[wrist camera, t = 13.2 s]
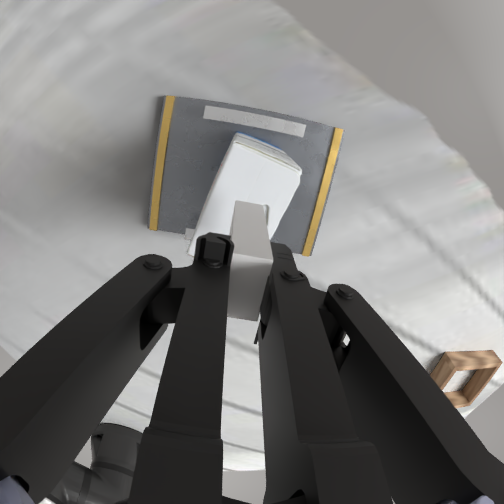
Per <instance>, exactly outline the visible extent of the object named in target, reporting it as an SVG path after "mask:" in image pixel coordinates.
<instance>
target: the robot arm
mask: <svg viewBox="0 0 504 504" xmlns="http://www.w3.org/2000/svg"><path fill="white" fill-rule="evenodd" d="M259 313H260V315H261V319H260V323H259V326H258V330H257V334H256V337H255V341H254V344H257V341H258V342H259V360H260V378H261V395H262V413H263V431H264V449H265V467H266V492H265V496H264V500H263V504H393V502H392V499H393V500H394V502H395V504H504V464H503V463H502V462H501V461H499V460H498V459H497V458H496V457H494V456H493V455H492V454H491V453H489V452H488V451H487V449H486V448H485V446H484V445H483V444H482V442H481V441H480V439H479V438H478V437H477V435H476V434H475V433H474V431H473V430H472V429H471V427H470V426H469V425H468V423H467V422H466V421H465V419H464V418H463V417H462V416H461V414H460V413H459V412H458V410H457V409H456V408H455V406H454V405H453V404H452V403H451V401H450V400H449V399H448V398H447V396H446V395H445V394H444V393H443V391H442V390H441V389H440V388H439V386H438V385H437V384H436V383H435V381H434V380H433V379H432V378H431V376H430V375H429V374H428V373H427V371H426V370H425V369H424V368H423V367H422V365H421V364H420V363H419V362H418V361H417V359H416V358H415V357H414V356H413V355H412V353H411V352H410V351H409V350H408V349H407V347H406V346H405V345H404V344H403V343H402V342H401V340H400V339H399V338H398V337H397V336H396V335H395V333H394V332H393V331H392V330H391V329H390V328H389V326H388V325H387V324H386V323H385V322H384V321H383V320H382V318H381V317H380V316H379V315H378V314H377V313H376V312H375V310H374V309H373V308H372V307H371V306H370V305H369V304H368V303H367V301H366V300H365V299H364V298H363V297H362V296H361V295H360V294H359V293H358V292H357V291H356V290H355V289H353V288H351V287H350V286H348V285H345V284H332V285H330V286H329V287H328V290H327V292H324V291H320V290H317V289H315V288H312V287H310V284H309V281H308V278H307V277H306V275H305V274H303V273H302V272H300V271H298V270H297V267H296V264H295V261H294V258H293V255H292V252H291V249H290V248H289V247H287V246H286V245H285V244H281V243H275V242H270V239H269V234H268V229H267V224H266V218H265V213H264V208H263V205H260V204H255V203H249V202H244V201H238V200H236V201H235V206H234V211H233V216H232V222H231V227H230V232H229V235H224V234H219V233H213V232H208V233H207V234H205V235H201V236H199V237H198V238H197V239H196V246H195V254H194V261H193V264H192V265H190V266H188V267H183V268H172V263H171V261H170V260H168V259H167V258H165V257H163V256H159V255H156V254H153V255H152V254H148V255H143V256H140V257H138V258H136V259H135V260H134V261H133V262H131V263H130V264H129V265H128V266H126V267H125V268H124V269H123V270H121V271H120V272H119V273H118V274H116V275H115V276H114V277H113V278H111V279H110V280H109V281H108V282H107V283H105V284H104V285H103V286H102V287H100V288H99V289H98V290H97V291H96V292H94V293H93V294H92V295H91V296H90V297H88V298H87V299H86V300H85V301H84V302H83V303H81V304H80V305H79V306H78V307H77V308H76V309H74V310H73V311H72V312H71V313H70V314H69V315H67V316H66V317H65V318H64V319H63V320H62V321H61V322H59V323H58V324H57V325H56V326H55V327H54V328H53V329H52V330H50V331H49V332H48V333H47V334H46V335H45V336H44V337H43V338H42V339H40V340H39V341H38V342H37V343H36V344H35V345H34V346H33V347H32V348H31V349H30V350H29V351H27V352H26V353H25V354H24V355H23V356H22V357H21V358H20V359H19V360H18V361H17V362H16V363H15V364H14V365H13V366H12V367H11V368H10V369H9V370H8V371H7V372H6V373H5V374H3V376H1V377H0V504H250V503H246V502H242V501H239V500H235V499H231V498H228V497H225V496H222V472H223V440H222V439H221V412H222V392H223V374H224V356H225V340H226V324H227V317H231V318H237V319H244V320H251V321H258V317H259ZM168 323H175V326H174V330H173V333H172V337H171V341H170V345H169V348H168V352H167V356H166V360H165V364H164V368H163V372H162V375H161V379H160V383H159V388H158V392H157V396H156V400H155V404H154V408H153V413H152V417H151V421H150V424H149V427H146V428H145V430H144V432H143V434H142V433H140V432H138V431H135V430H133V429H130V428H127V427H124V426H120V425H115V424H100V425H99V423H100V422H101V420H102V419H103V418H104V416H105V415H106V413H107V412H108V410H109V409H110V408H111V406H112V405H113V403H114V402H115V400H116V399H117V398H118V396H119V395H120V393H121V392H122V391H123V389H124V388H125V386H126V385H127V384H128V382H129V381H130V379H131V378H132V377H133V375H134V374H135V372H136V371H137V370H138V368H139V367H140V365H141V364H142V363H143V361H144V360H145V358H146V357H147V356H148V354H149V353H150V351H151V350H152V349H153V347H154V346H155V345H156V343H157V342H158V340H159V339H160V338H161V336H162V335H163V334H164V332H165V331H166V329H167V327H168ZM346 334H347V335H348V337H349V339H350V341H349V344H348V345H347V346H346V345H345V344H344V342H343V340H344V338H345V336H346ZM90 436H91V450H92V463H91V467H90V469H89V468H87V467H85V466H83V465H81V464H79V463H77V462H75V461H74V460H75V458H76V457H77V455H78V454H79V452H80V451H81V449H82V448H83V446H84V445H85V443H86V442H87V440H88V439H89V438H90ZM391 497H392V498H391Z"/></svg>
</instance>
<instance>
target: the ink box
mask: <svg viewBox="0 0 504 504" xmlns="http://www.w3.org/2000/svg"><path fill="white" fill-rule="evenodd" d="M301 174H302V169H301V168H300V167H299V166H298V165H297V164H296V163H295V162H294V161H293V160H292V159H291V158H290V157H289V156H288V155H287V154H286V153H285V152H284V151H283V150H281V149H280V148H279V147H276V146H274V145H272V144H270V143H267V142H265V141H262V140H260V139H257V138H255V137H252V136H250V135H247V134H244V133H242V132H239V131H237V132H236V133H235V135H234V137H233V139H232V141H231V143H230V146H229V148H228V150H227V152H226V154H225V156H224V158H223V160H222V162H221V165H220V167H219V169H218V172H217V174H216V176H215V179H214V181H213V183H212V186H211V188H210V191H209V193H208V196H207V199H206V201H205V204H204V206H203V209H202V212H201V214H200V217H199V220H198V223H197V226H196V228H195V231H194V234H193V237H192V239H191V242H190V245H189V248H188V251H187V255H188V256H190V257H193V258H194V254H195V246H196V239H197V238H198V237H199V236H201V235H205V234H207V233H208V232H213V233H219V234H224V235H229V232H230V227H231V222H232V216H233V211H234V206H235V201H236V200H238V201H244V202H249V203H255V204H260V205H263V208H264V213H265V218H266V224H267V229H268V234H269V239H271V237H272V236H273V234H274V232H275V231H276V229H277V227H278V225H279V222H280V220H281V218H282V216H283V214H284V212H285V211H286V209H287V207H288V205H289V203H290V201H291V199H292V197H293V195H294V193H295V191H296V189H297V188H298V186H299V183H300V176H301Z"/></svg>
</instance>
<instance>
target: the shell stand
mask: <svg viewBox="0 0 504 504" xmlns="http://www.w3.org/2000/svg"><path fill="white" fill-rule="evenodd" d="M501 364H502V361H501V360H500V359H499V357H498V356H497V355H496V354H495V352H494V351H493V350H489V351H464V352H445V353H444V355H443V356H442V358H441V360H440V361H439V363H438V364H437V366H436V367H435V369H434V370H433V371H432V373H431V374H430V376H431V378H432V379H433V380H434V381H435V383H436V384H437V385H438V386H439V388H440V389H441V390H443V388H444V387H445V386H446V384H447V383H448V382H449V380H450V379H451V378H452V376H453V375H454V373H455V372H456V371H462V370H473V369H477V371H476V372H475V374H474V375H473V376H472V378H471V379H470V381H469V382H468V383H467V384H466V386H465V387H464V388H463V390H461V391H454V392H446V393H444V394H445V395H446V396H447V398H448V399H449V400H450V401H451V403H452V404H453V405H454V406H455V408H460V407H465V406H470V405H471V403H472V402H473V401H474V400H475V398H476V397H477V396H478V395H479V394H480V392H481V391H482V390H483V388H484V387H485V386H486V385H487V383H488V382H489V381H490V379H491V378H492V377H493V375H494V374H495V372H496V371H497V370H498V368H499V367H500V365H501Z"/></svg>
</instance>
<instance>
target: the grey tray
mask: <svg viewBox="0 0 504 504" xmlns="http://www.w3.org/2000/svg"><path fill="white" fill-rule="evenodd" d="M237 131H239V132H242V133H244V134H247V135H250V136H252V137H255V138H257V139H260V140H262V141H265V142H267V143H270V144H272V145H274V146H276V147H279V148H280V149H281V150H283V151H284V152H285V153H286V154H287V155H288V156H289V157H290V158H291V159H292V160H293V161H294V162H295V163H296V164H297V165H298V166H299V167H300V168H301V169H302V174H301V176H300V183H299V186H298V188H297V189H296V191H295V193H294V195H293V197H292V199H291V201H290V203H289V205H288V207H287V209H286V211H285V212H284V214H283V216H282V218H281V220H280V222H279V225H278V227H277V229H276V231H275V232H274V234H273V236H272V237H271V239H270V242H275V243H281V244H285V245H286V246H287V247H289V248H290V249H291V252H292V253H298V254H302V255H303V256H308V257H309V256H311V255H312V251H313V248H314V245H315V241H316V238H317V234H318V231H319V228H320V224H321V221H322V217H323V213H324V210H325V206H326V203H327V199H328V195H329V192H330V188H331V184H332V181H333V177H334V173H335V169H336V165H337V161H338V157H339V153H340V149H341V145H342V141H343V137H344V133H345V130H342V129H339V128H335V127H331V126H328V125H324V124H321V123H317V122H313V121H309V120H305V119H301V118H297V117H293V116H288V115H284V114H280V113H275V112H270V111H265V110H260V109H255V108H250V107H245V106H239V105H233V104H227V103H221V102H214V101H208V100H200V99H192V98H184V97H175V96H165V95H164V100H163V106H162V112H161V118H160V124H159V130H158V137H157V144H156V151H155V159H154V167H153V175H152V184H151V194H150V205H149V216H148V228H150V229H149V230H155V231H157V230H162V231H168V232H174V233H180V234H185V239H186V240H191V239H192V237H193V234H194V231H195V228H196V226H197V223H198V220H199V217H200V214H201V212H202V209H203V206H204V204H205V201H206V199H207V196H208V193H209V191H210V188H211V186H212V183H213V181H214V179H215V176H216V174H217V172H218V169H219V167H220V165H221V162H222V160H223V158H224V156H225V154H226V152H227V150H228V148H229V146H230V143H231V141H232V139H233V137H234V135H235V133H236V132H237Z"/></svg>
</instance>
